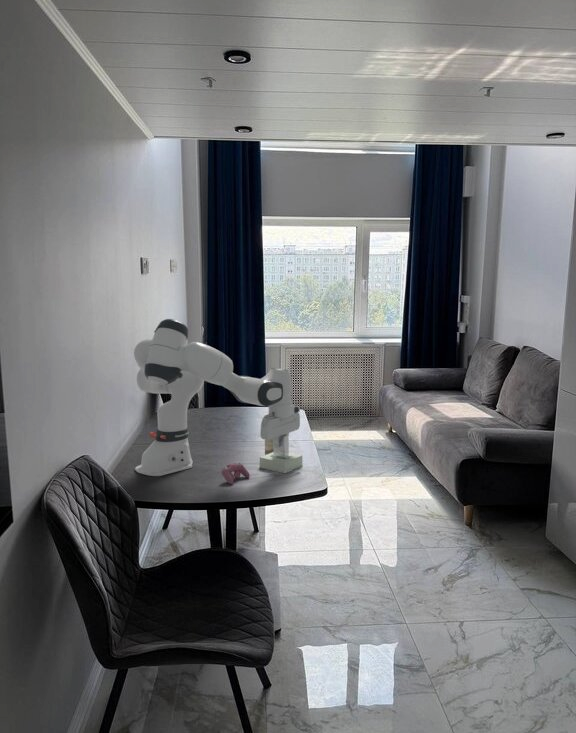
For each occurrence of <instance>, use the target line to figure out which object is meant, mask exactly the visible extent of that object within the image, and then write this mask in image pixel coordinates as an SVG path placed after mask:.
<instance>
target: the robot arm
mask: <svg viewBox="0 0 576 733" xmlns="http://www.w3.org/2000/svg"><path fill="white" fill-rule="evenodd" d="M153 332H154V334H153V337H152V339H144V340H141V341H139V342H138V343H137V344H136V345H135V348H134V350H133V357H134V360H135V362H136V364H137V366H138V367H139V370H138V372H137V374H136V384H137V386H138V388H139V389H140V390H141V391H142V392H144V393H148V394H149V393H150V394H166V395H167V394H171V397H170V398H171V399H170V400H168V401H166V402H165V403H162V405H160V406H159V407H158V409H157V413H156V414H157V429H156V432H154V431H150V432H149V438H154V441H153V442H151V444H150V445H149V446H148V447H147V448H146V450H145V451H144V452H143V453H142V455H141V461H140V462H141V464H139V465H137V466H136V467H135V472H136V473H139V474H142V475H144V476H145V475H146V476H148V477H149V476H150V477H151V476H152V477H162V476H165V475H169V474H173V473H177V472H181V471H184V470H188V469H192V468H193V463H194V462H193V459H192V455H191V450H190V444H189V439H188V438H189V436H190V435H189V433H190V432H189V427H188V407H189V404H190V402H191V400H192V399H193V397H194V396H195V395H196V394H197V393H198V392H200V390H201V389H203V386H204V384H205V382H207V383H210V384H214V385H217V386H220V387H223V388H224V389H227V390H228V391H229V392H230V393H231V394H232V395H233V397H234V398H235V399H236V401H238V402H240V403H245V404H251V405H254V406H255V405H256V406H261V407H268V413H267V414H265V415H263V417H262V420H261V424H260V431H259V432H260V433H259V434H260V435H259V436H260V438H261V440H264V441H265V440H270V439H273V441H274V444H275V448H279V447H280V446H281V445H280V444H281V443H280V442H279V441H278V439H279V436H281V435H289V436H290V433H293V432H295V431H298V430H299V429H300V426H301V414H300V412H301V407H300V406H299V405H294V404H293V401H292V397H291V396H292V392H293V391H292V390H293V389H292V387H293V386H292V377H291V372H290V371H289V369H286V368H285V369H284V368H279V367H271V368H269V371H268V372H267V373H266V374H265V375H264V376H263V377H261V378H258V377H251V376H250V375H249V376H248V375H238V374H236V373H234V372H233V371H234V363H233V360H232V359H231V358H230V357H229V356H228V355H226V354H225V353H224V352H222V351H220V350H218V349H216V348H214V347H212V346H210V345H208V344H205V343H201V342H199V341H192V342H189V343H188V344H187V340H188V338H189V328H188V326H186V324H184V323H183V322H182V321H179V320H176V319H173V318H165V319H163V320H162V321H160V322H159V323H158V325H157V326H156V328H155V330H154V331H153Z"/></svg>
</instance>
